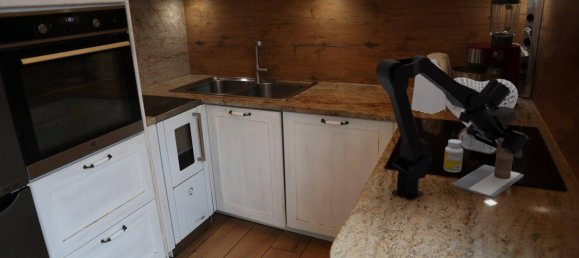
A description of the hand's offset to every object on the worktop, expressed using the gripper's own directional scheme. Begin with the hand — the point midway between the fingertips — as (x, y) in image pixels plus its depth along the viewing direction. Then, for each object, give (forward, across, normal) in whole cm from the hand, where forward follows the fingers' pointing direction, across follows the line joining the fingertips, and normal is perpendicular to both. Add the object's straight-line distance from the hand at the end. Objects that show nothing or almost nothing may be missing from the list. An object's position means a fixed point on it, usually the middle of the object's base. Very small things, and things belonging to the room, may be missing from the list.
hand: (508, 151), depth 126 cm
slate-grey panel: (+1, 0, +11) cm, 11 cm away
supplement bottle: (-1, +11, +14) cm, 18 cm away
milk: (+25, +77, -12) cm, 81 cm away
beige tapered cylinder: (+5, 0, +6) cm, 8 cm away
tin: (+13, +22, 0) cm, 26 cm away
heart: (+24, +44, -12) cm, 52 cm away
